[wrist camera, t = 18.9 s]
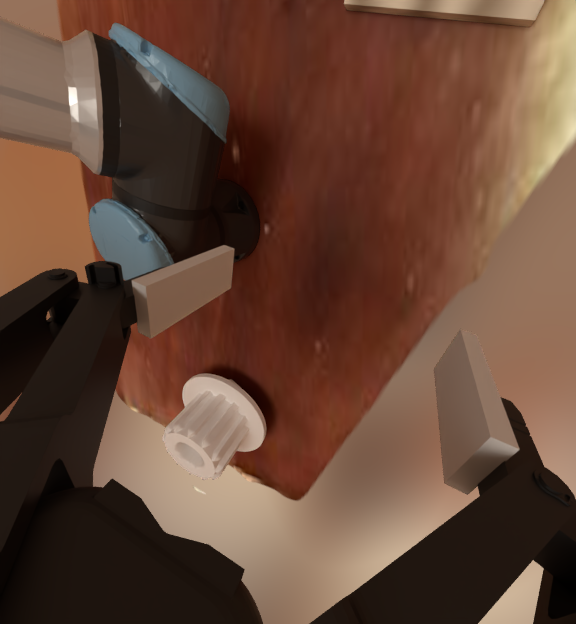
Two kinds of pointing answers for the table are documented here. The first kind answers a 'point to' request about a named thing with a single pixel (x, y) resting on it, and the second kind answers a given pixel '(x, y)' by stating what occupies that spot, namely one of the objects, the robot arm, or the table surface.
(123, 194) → the robot arm
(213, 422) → the flanged gear
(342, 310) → the table surface
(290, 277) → the table surface
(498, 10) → the socket board
